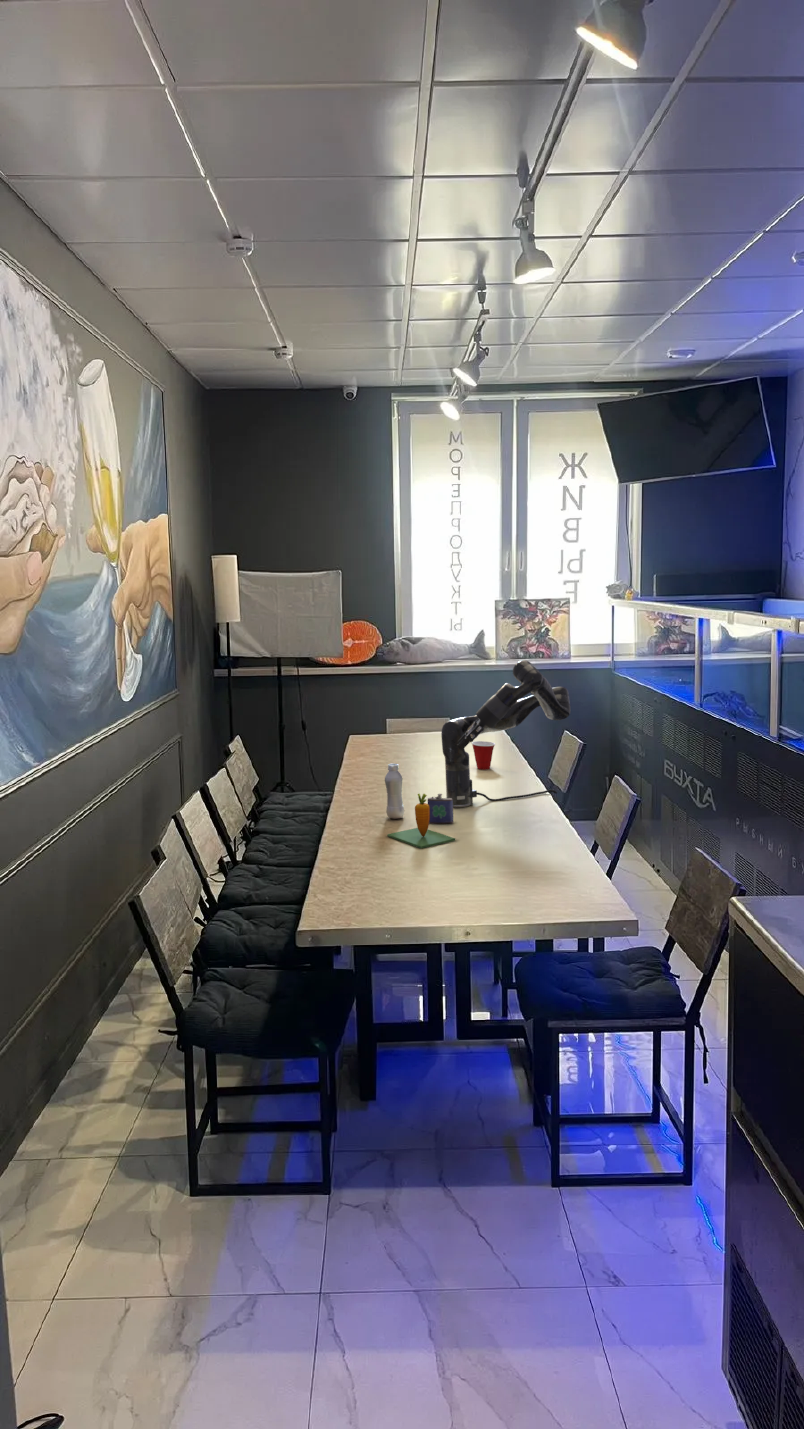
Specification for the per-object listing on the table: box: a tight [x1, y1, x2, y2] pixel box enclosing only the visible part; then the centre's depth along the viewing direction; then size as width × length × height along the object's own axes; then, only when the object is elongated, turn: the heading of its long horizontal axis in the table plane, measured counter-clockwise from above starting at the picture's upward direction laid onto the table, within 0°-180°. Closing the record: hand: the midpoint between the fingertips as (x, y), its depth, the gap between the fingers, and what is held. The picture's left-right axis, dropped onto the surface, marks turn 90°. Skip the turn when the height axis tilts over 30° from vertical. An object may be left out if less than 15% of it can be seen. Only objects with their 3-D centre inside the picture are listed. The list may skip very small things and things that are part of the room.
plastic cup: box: [471, 740, 496, 771], centre depth 434 cm, size 11×11×12 cm
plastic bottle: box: [384, 763, 405, 820], centre depth 350 cm, size 6×7×20 cm
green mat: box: [386, 827, 456, 849], centre depth 323 cm, size 14×20×1 cm
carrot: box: [414, 793, 430, 837], centre depth 321 cm, size 5×5×15 cm
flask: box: [427, 793, 454, 825], centre depth 341 cm, size 9×3×11 cm, turn 74°
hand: (459, 746), depth 321 cm, fingers open, 8 cm apart
